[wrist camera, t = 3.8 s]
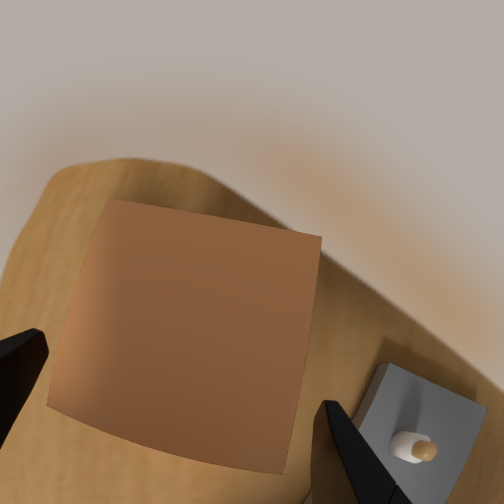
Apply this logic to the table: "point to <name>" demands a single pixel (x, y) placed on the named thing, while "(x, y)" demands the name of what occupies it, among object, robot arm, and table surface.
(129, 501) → the table surface
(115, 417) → the orange brown rectangular block
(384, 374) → the plate
